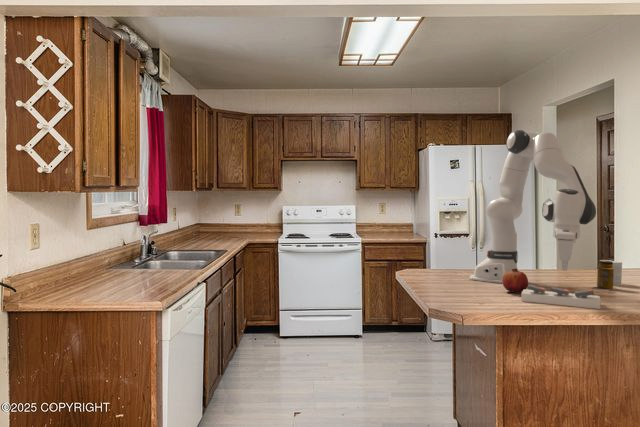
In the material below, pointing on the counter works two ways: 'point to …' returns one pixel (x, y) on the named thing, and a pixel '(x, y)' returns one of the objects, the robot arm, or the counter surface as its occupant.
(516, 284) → the fruit
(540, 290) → the rocker left
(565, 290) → the rocker middle
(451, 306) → the counter surface
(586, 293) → the rocker right
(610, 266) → the condiment
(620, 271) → the small box
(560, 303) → the power strip
